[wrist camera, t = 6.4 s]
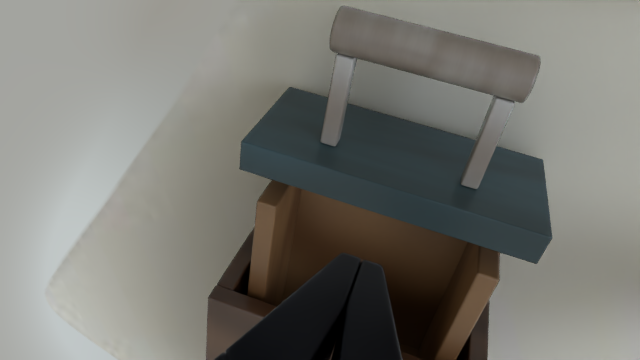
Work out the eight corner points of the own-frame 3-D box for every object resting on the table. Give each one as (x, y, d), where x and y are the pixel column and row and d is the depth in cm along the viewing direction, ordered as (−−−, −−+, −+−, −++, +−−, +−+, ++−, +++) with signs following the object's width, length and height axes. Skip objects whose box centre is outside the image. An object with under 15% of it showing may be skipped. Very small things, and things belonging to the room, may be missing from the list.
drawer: (305, -33, 18) (250, 1, 14) (604, 41, 16) (634, 102, 13) (263, 286, 28) (225, 356, 24) (444, 351, 27) (434, 436, 23)
